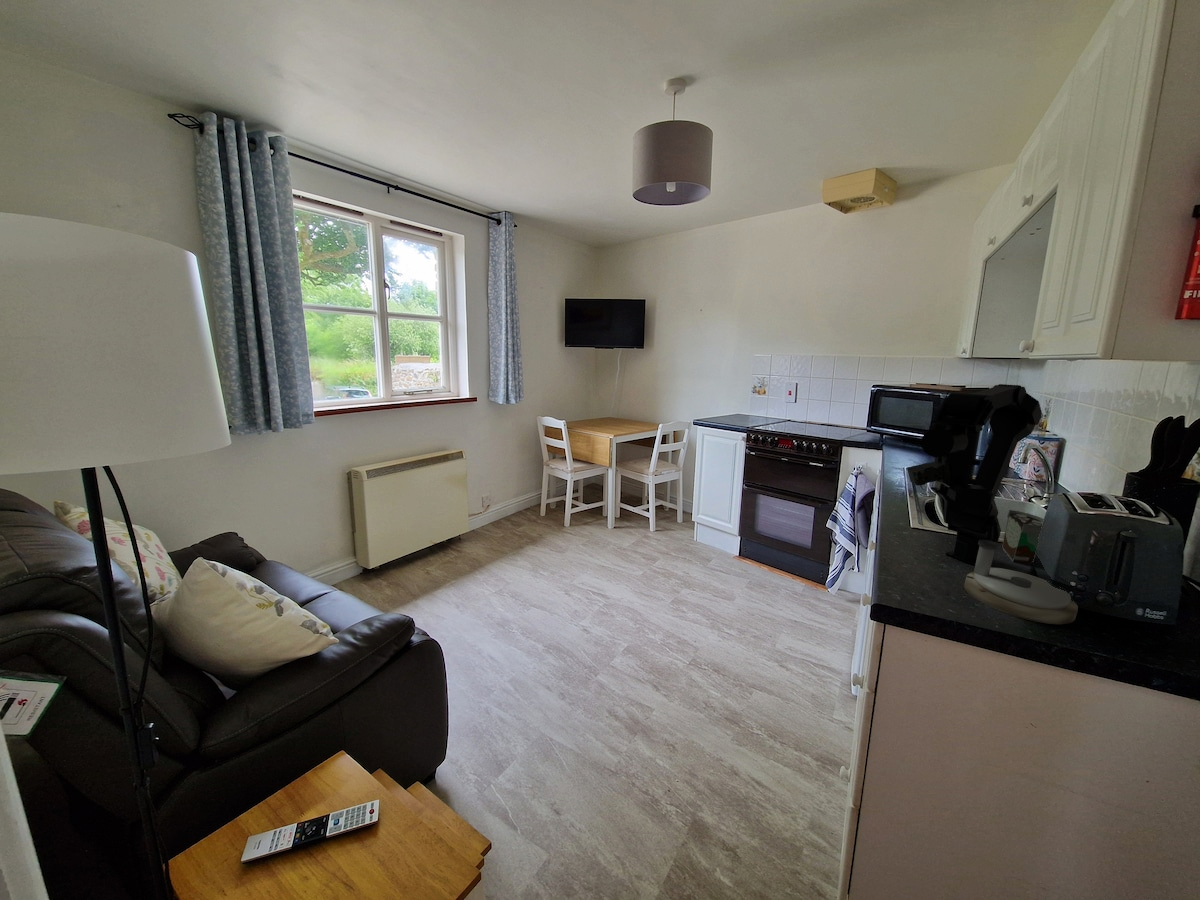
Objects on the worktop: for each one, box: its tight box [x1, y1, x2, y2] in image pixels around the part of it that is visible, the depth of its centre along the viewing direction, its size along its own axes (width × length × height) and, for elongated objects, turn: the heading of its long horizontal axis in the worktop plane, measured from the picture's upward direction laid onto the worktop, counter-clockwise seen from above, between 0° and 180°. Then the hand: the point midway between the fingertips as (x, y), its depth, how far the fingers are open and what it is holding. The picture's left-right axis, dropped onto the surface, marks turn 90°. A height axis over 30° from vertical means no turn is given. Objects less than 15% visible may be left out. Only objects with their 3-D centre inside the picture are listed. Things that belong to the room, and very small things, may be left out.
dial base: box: [963, 571, 1079, 625], centre depth 89 cm, size 16×16×2 cm
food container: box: [1001, 509, 1044, 564], centre depth 108 cm, size 12×6×10 cm, turn 151°
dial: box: [973, 539, 1072, 609], centre depth 88 cm, size 14×14×8 cm
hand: (947, 523), depth 97 cm, fingers closed
